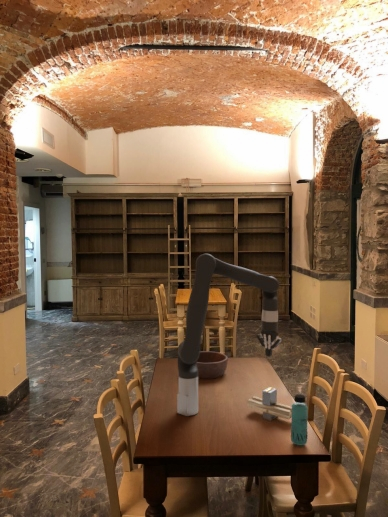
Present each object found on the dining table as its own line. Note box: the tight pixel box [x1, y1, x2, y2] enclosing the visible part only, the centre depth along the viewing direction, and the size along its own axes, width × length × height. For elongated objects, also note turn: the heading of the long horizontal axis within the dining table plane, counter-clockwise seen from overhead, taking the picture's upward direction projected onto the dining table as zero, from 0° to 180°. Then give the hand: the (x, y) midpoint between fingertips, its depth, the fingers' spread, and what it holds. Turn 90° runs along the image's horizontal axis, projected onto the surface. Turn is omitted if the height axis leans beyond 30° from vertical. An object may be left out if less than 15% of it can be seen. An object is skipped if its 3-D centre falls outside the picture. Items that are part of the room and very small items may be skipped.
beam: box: [246, 395, 292, 422], centre depth 190 cm, size 7×21×6 cm, turn 51°
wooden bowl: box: [197, 350, 229, 380], centre depth 250 cm, size 25×25×10 cm
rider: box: [261, 386, 278, 406], centre depth 191 cm, size 6×4×8 cm, turn 141°
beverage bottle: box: [290, 393, 309, 446], centre depth 165 cm, size 6×7×20 cm
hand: (268, 356), depth 195 cm, fingers closed
